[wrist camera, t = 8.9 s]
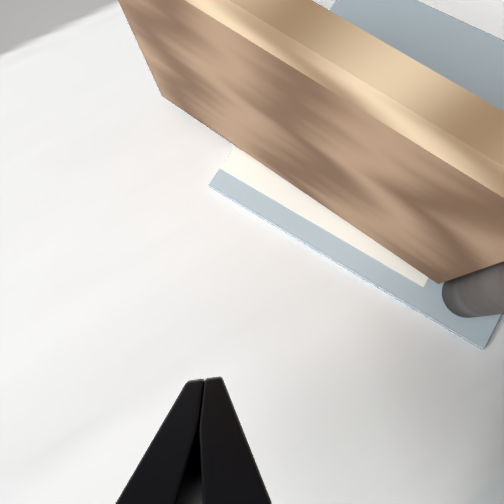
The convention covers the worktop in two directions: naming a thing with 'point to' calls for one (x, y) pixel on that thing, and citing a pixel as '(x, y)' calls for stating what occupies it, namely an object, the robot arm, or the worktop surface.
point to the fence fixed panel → (476, 292)
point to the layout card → (331, 225)
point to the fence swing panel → (339, 121)
